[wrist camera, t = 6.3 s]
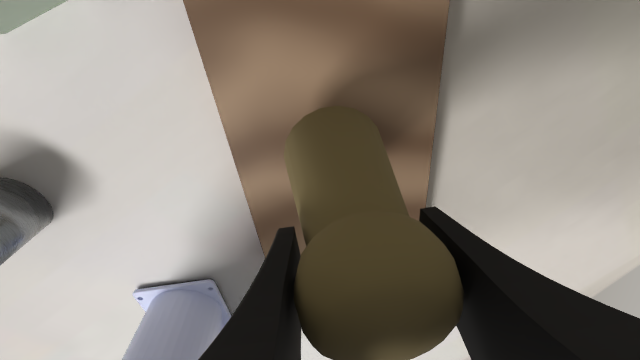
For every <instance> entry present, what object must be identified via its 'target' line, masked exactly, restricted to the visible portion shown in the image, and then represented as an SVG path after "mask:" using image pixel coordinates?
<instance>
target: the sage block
mask: <svg viewBox="0 0 640 360" xmlns="http://www.w3.org/2000/svg"><path fill="white" fill-rule="evenodd" d="M66 1H67V0H0V34H6V33H8V32H10V31H12V30H13V29H15V28H17V27H19V26H21V25H23V24H25V23H26V22H28V21H30V20H32V19H34V18H36V17H38V16H39V15H41V14H43V13H45V12H47V11H49V10H51V9H52V8H54V7H56V6H58V5H60V4H62V3H64V2H66Z"/></svg>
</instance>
